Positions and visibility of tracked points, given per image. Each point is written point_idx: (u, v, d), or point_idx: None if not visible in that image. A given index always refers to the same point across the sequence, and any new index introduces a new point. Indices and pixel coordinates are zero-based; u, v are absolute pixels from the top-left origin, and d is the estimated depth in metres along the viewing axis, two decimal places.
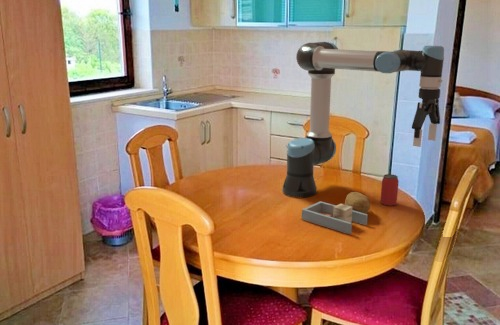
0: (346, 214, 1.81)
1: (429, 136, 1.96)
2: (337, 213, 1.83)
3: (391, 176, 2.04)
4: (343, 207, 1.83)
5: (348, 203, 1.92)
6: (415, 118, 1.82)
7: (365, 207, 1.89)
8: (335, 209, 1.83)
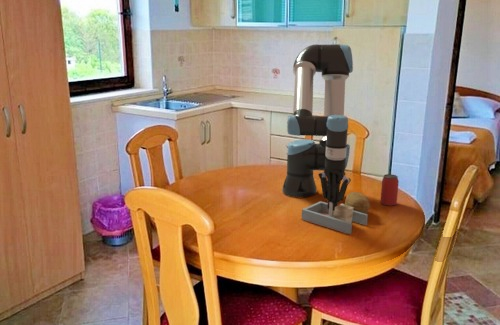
0: (347, 215, 1.81)
1: None
2: (338, 213, 1.82)
3: (391, 176, 2.04)
4: (344, 207, 1.83)
5: (348, 203, 1.92)
6: None
7: (365, 207, 1.89)
8: (336, 209, 1.83)
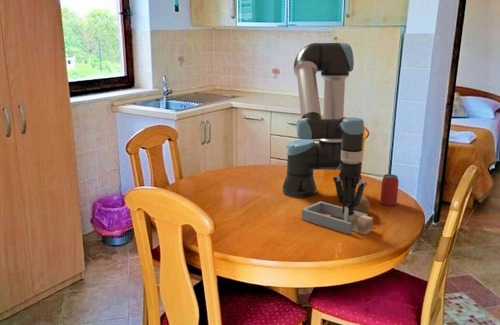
0: None
1: None
2: (360, 224, 1.77)
3: (391, 176, 2.04)
4: (368, 227, 1.77)
5: None
6: None
7: (365, 207, 1.89)
8: (363, 223, 1.76)
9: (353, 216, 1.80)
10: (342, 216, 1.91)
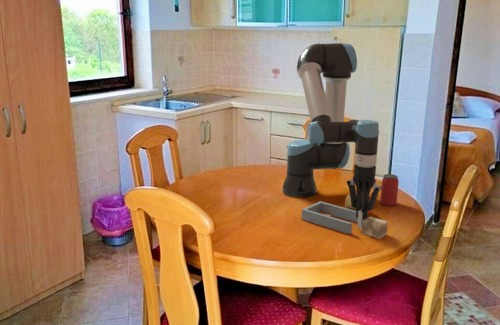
0: None
1: None
2: (375, 228, 1.73)
3: (391, 176, 2.04)
4: (383, 231, 1.74)
5: (348, 203, 1.92)
6: None
7: None
8: (378, 227, 1.72)
9: (367, 220, 1.76)
10: (342, 216, 1.91)
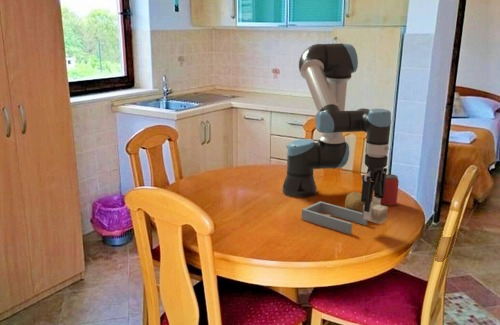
0: None
1: None
2: (375, 214, 1.72)
3: (391, 176, 2.04)
4: (383, 216, 1.73)
5: (348, 203, 1.92)
6: (363, 192, 1.69)
7: None
8: (379, 212, 1.71)
9: None
10: (342, 216, 1.91)
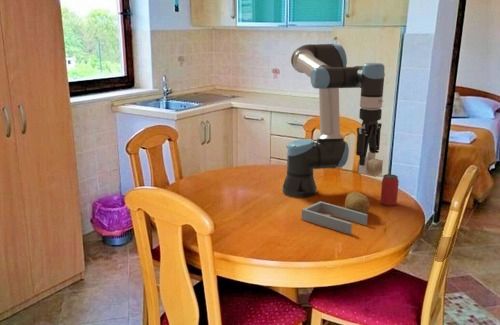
0: None
1: None
2: (370, 167, 1.75)
3: (391, 176, 2.04)
4: (378, 170, 1.76)
5: (348, 203, 1.92)
6: (358, 145, 1.73)
7: (365, 207, 1.89)
8: (374, 165, 1.74)
9: None
10: (342, 216, 1.91)
